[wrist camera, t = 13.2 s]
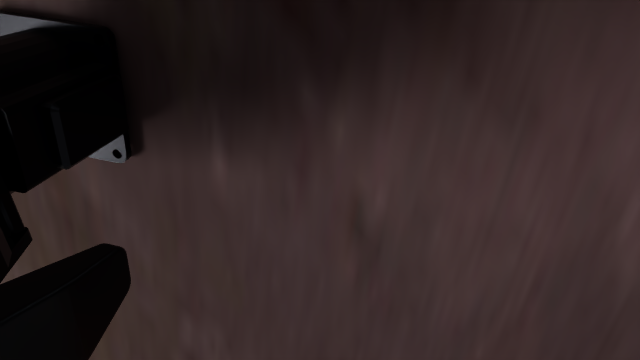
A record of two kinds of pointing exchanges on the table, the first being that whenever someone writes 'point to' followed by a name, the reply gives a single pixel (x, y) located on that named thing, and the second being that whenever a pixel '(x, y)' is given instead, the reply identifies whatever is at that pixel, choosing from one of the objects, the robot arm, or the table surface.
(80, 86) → the robot arm
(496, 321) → the table surface
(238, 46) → the table surface
